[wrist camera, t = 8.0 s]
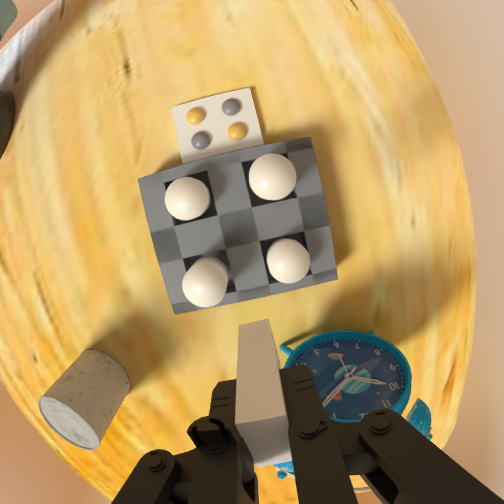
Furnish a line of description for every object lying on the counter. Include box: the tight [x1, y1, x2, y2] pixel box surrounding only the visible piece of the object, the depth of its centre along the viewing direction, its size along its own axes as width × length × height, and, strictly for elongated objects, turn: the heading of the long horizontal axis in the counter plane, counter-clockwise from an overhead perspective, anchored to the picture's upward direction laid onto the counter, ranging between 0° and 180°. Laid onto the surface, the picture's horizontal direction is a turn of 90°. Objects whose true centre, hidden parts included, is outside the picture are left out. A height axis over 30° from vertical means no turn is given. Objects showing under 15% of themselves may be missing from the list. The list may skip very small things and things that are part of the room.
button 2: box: [182, 257, 229, 307], centre depth 26 cm, size 4×4×4 cm
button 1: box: [165, 177, 212, 220], centre depth 26 cm, size 4×4×4 cm
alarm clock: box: [273, 330, 432, 493], centre depth 23 cm, size 17×10×20 cm, turn 94°
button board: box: [138, 137, 338, 314], centre depth 28 cm, size 15×18×3 cm
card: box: [171, 88, 264, 165], centre depth 27 cm, size 7×9×1 cm
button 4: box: [266, 236, 310, 283], centre depth 27 cm, size 4×4×4 cm
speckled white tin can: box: [38, 350, 130, 450], centre depth 28 cm, size 10×10×12 cm
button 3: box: [249, 153, 296, 200], centre depth 24 cm, size 4×4×4 cm
